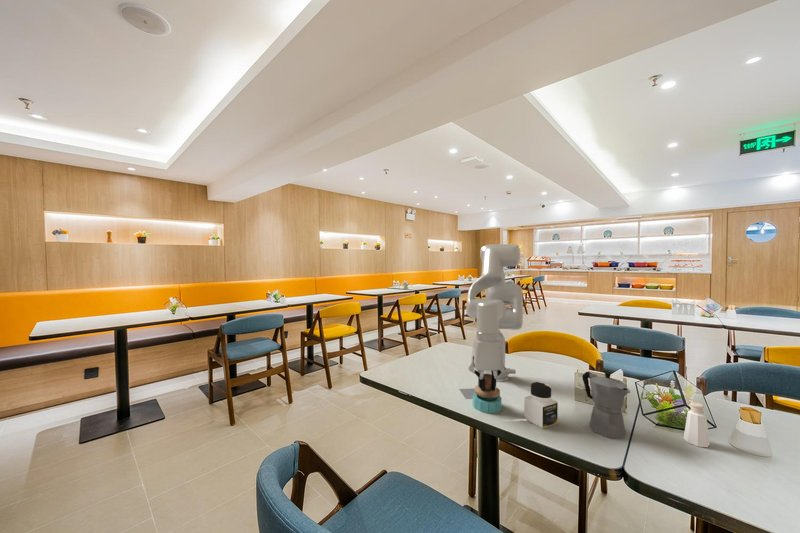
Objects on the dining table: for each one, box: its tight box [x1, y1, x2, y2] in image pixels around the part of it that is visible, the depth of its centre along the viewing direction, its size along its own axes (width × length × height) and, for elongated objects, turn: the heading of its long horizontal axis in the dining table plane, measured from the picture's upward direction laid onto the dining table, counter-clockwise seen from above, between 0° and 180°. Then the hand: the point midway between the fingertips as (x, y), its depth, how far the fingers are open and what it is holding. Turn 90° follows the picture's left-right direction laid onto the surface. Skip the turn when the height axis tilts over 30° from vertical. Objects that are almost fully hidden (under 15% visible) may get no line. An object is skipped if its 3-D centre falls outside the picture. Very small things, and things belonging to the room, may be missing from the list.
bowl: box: [472, 393, 503, 414], centre depth 107 cm, size 10×10×4 cm
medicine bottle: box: [523, 381, 559, 429], centre depth 98 cm, size 7×7×12 cm
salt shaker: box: [683, 401, 711, 448], centre depth 87 cm, size 5×5×11 cm
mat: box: [459, 387, 475, 400], centre depth 118 cm, size 9×9×1 cm
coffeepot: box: [581, 371, 631, 440], centre depth 94 cm, size 15×9×18 cm, turn 16°
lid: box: [474, 374, 501, 398], centre depth 107 cm, size 8×8×6 cm
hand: (487, 388), depth 107 cm, fingers open, 3 cm apart
